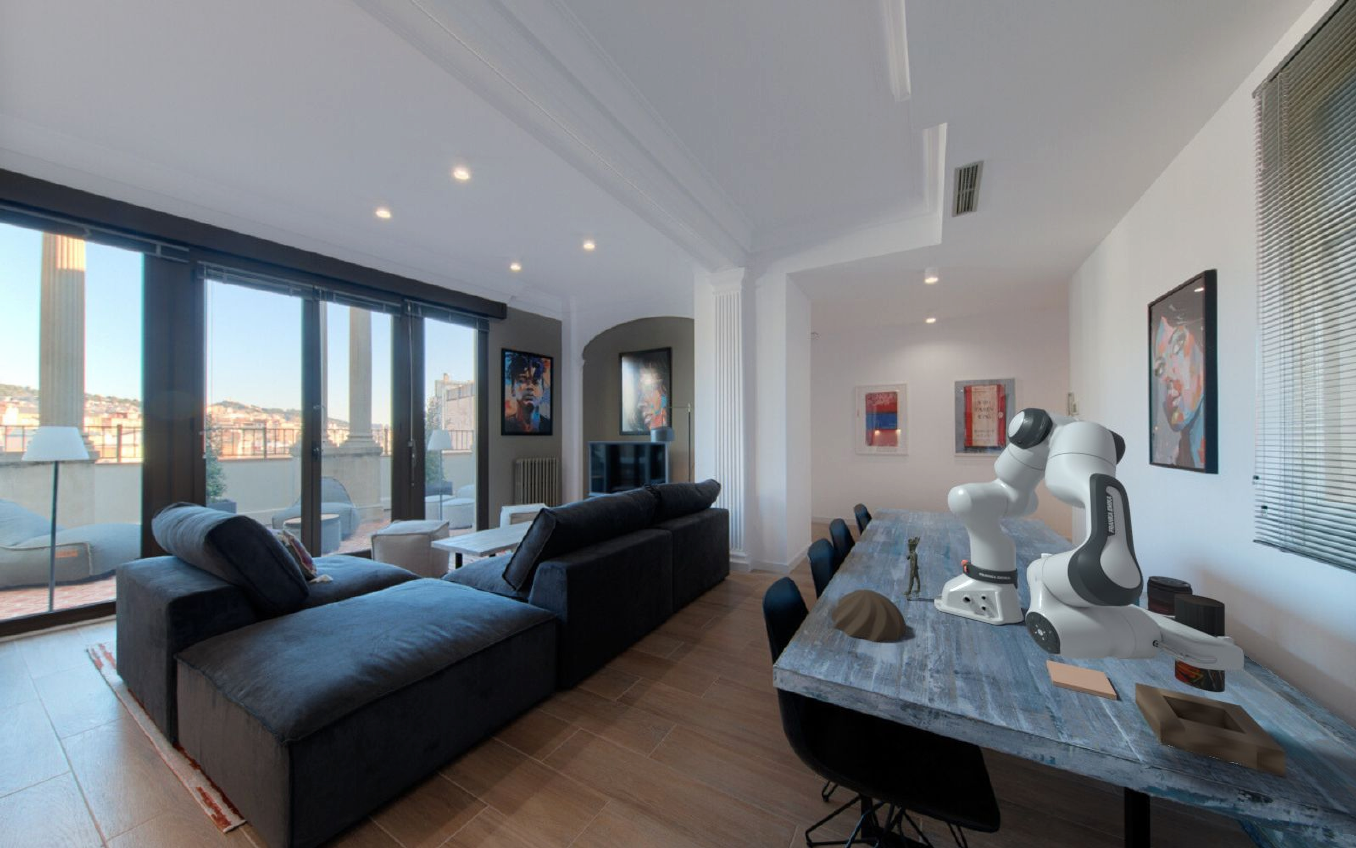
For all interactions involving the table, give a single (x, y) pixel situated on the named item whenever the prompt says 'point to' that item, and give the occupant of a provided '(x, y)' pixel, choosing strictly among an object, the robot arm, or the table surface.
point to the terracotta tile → (1080, 679)
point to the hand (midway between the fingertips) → (1203, 631)
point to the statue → (913, 567)
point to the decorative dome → (869, 617)
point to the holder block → (1209, 728)
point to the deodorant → (1208, 620)
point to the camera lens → (1165, 594)
